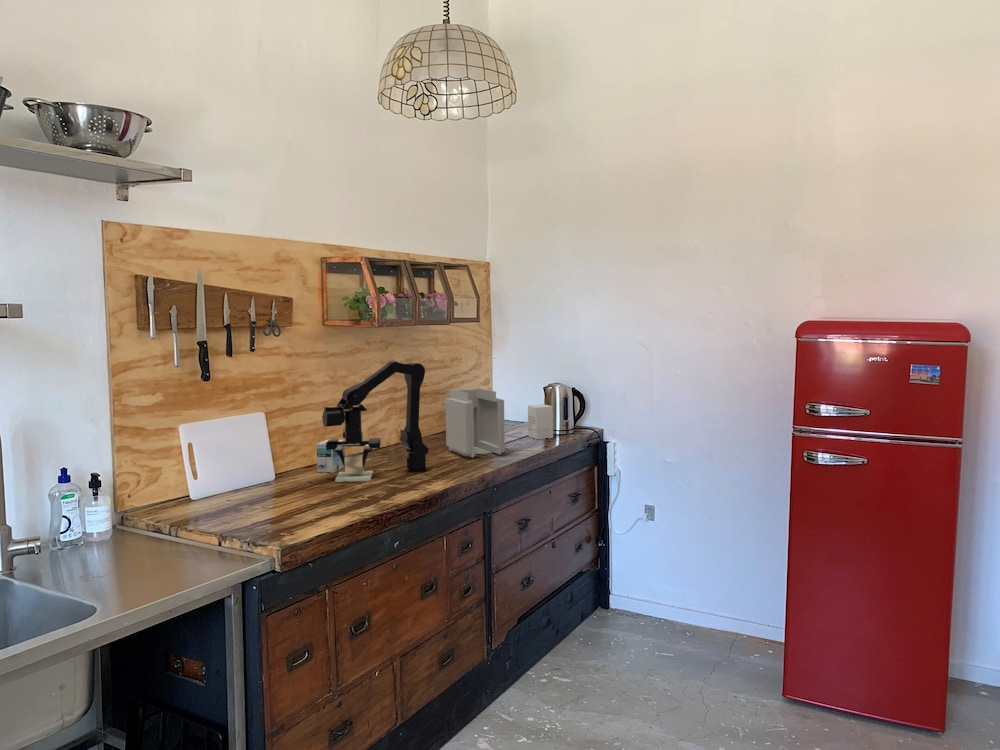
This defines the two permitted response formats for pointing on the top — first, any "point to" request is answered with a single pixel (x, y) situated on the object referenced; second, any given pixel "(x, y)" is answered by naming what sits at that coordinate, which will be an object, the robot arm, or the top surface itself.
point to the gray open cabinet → (475, 422)
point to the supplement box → (540, 421)
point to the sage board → (354, 476)
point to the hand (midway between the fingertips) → (354, 467)
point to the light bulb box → (328, 459)
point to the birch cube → (354, 464)
